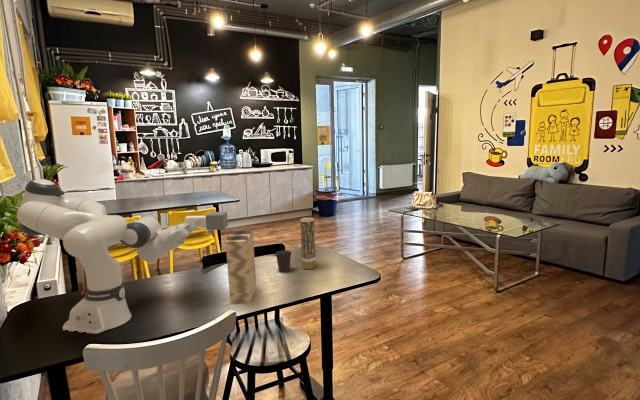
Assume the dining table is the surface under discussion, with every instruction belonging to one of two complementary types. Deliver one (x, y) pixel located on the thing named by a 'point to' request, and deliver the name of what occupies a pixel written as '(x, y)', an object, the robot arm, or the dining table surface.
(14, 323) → the dining table surface
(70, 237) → the robot arm
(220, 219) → the hammer
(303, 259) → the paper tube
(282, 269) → the coffee cup
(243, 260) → the beige zigzag patterned box
